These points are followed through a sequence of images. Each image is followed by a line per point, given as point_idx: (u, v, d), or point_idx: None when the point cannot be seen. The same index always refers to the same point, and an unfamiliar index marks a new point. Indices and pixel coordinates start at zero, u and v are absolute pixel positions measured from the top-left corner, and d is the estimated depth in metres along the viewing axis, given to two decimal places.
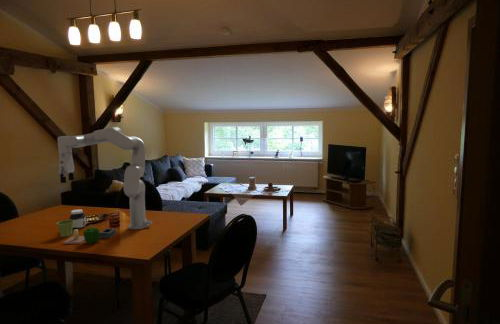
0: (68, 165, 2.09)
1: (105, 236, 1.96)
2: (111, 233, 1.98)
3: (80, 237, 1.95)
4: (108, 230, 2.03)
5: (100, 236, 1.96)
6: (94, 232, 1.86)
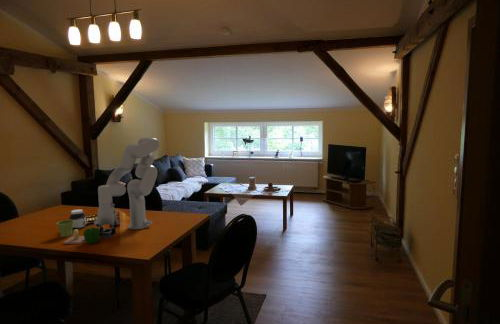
0: None
1: (105, 236, 1.96)
2: (111, 233, 1.98)
3: (80, 237, 1.95)
4: (108, 230, 2.03)
5: (100, 236, 1.96)
6: (94, 232, 1.86)
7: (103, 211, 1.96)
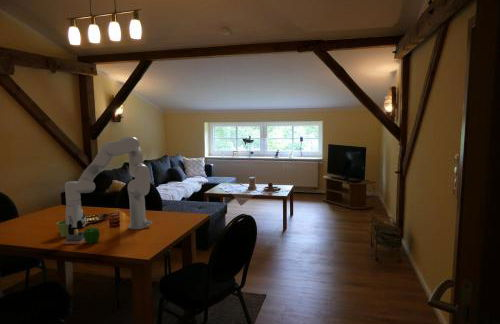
0: None
1: None
2: None
3: None
4: None
5: (81, 238, 1.89)
6: (94, 232, 1.86)
7: (77, 207, 1.89)
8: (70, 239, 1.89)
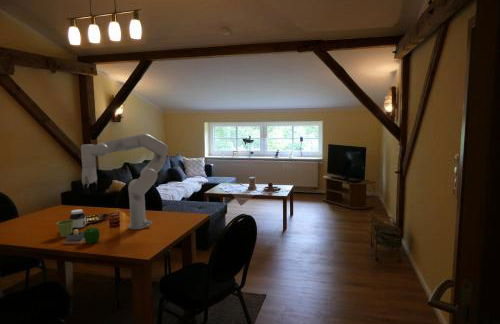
0: None
1: None
2: None
3: None
4: None
5: (81, 238, 1.89)
6: (94, 232, 1.86)
7: (93, 169, 2.00)
8: (70, 239, 1.89)
